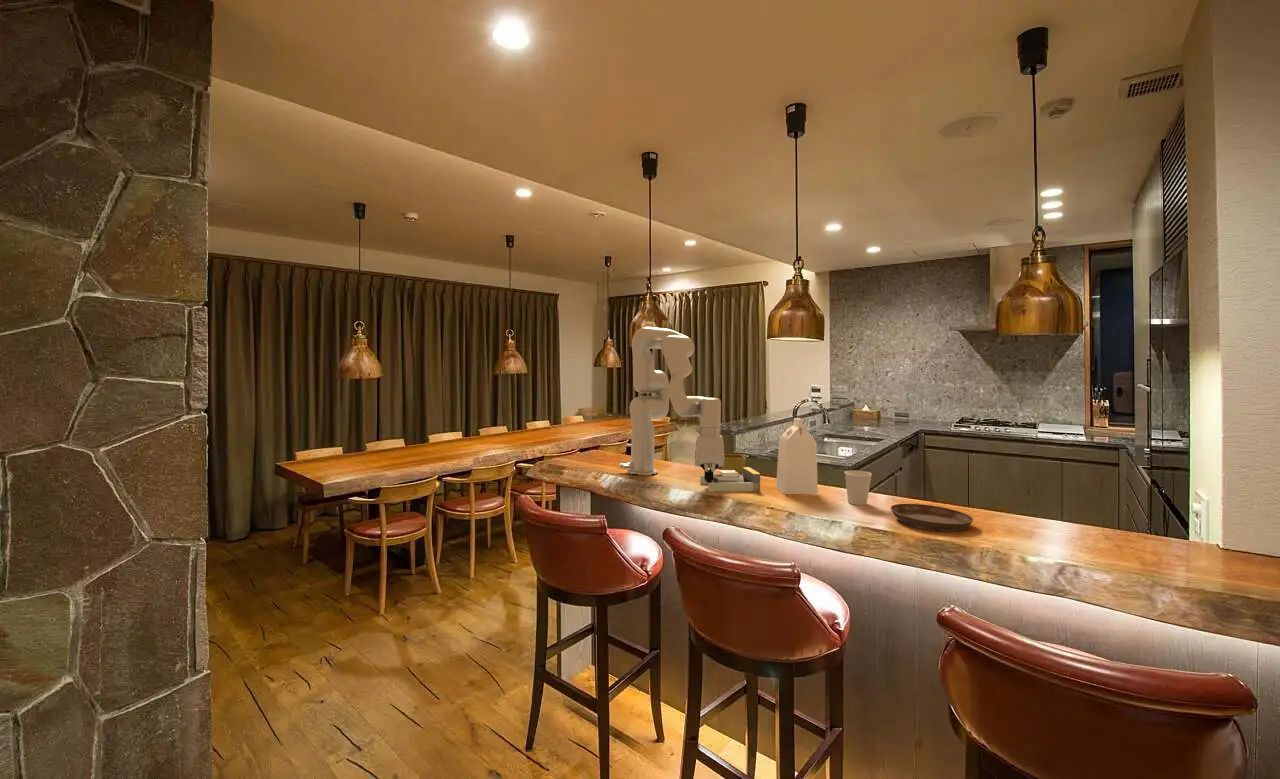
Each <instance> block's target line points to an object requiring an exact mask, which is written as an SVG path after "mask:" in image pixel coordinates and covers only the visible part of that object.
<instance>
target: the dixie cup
mask: <svg viewBox="0 0 1280 779" xmlns="http://www.w3.org/2000/svg"><path fill="white" fill-rule="evenodd" d="M844 475H845V484H846V497H847V503H848V504H850V503H851V505H853V504H856V505H855V506H866V504H868V499H869V491H870V487H871V482H872V481H871V480H872V476H873V474H872V472H869V471H864V470H845V471H844Z"/></svg>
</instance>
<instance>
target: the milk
mask: <svg viewBox="0 0 1280 779" xmlns="http://www.w3.org/2000/svg"><path fill="white" fill-rule="evenodd" d="M817 448H818V447H817V441H816V440H815V438H814V437H813V436H812V435H811V434H810V433H809V432H808V431H807V430H806V429H805V428H804V424H803V419H802V418H799V417H794V418H793V422H792V425H791V426H790V427H788V428H786V430H785V431H784V432H783V434H781V435H780V436H779V439H778V452H777V453H778V454H777V466H776V480H775V481H776V484H775V488H776V487H777V488H778V490H779V492H781V491H782V492H783V493H784V494H815V495H814V496H818V491H819V490H818V454H817V453H818V451H817V450H818V449H817ZM777 488H776V489H777ZM782 492H781V493H782ZM783 493H782V494H783ZM784 494H783V495H784Z"/></svg>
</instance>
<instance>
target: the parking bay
mask: <svg viewBox="0 0 1280 779" xmlns="http://www.w3.org/2000/svg"><path fill="white" fill-rule="evenodd" d="M742 477H743V478H744V482H717V483H714V482H713V481H712V483H710V482H709V483H707V482H706V480H705V479H704V475H700V477H699V483H700V484H702V485H708V490H707V491H708V493H714V492H715V491H717V492H761V473H760V472H758V471H756V470H755V469H753V468H752V467H749V466H747V467H746V466H745V467H743V474H742ZM715 493H716V492H715Z"/></svg>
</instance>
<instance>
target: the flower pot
mask: <svg viewBox="0 0 1280 779" xmlns="http://www.w3.org/2000/svg"><path fill="white" fill-rule="evenodd" d="M746 459H747V458H746V457H745V456H744V455H743V454H730V453H728V454H727V453H724V466H721V470H735V471H736V472H737V473H738V474H739V475H741V476H743V467H746V466H745V465H746Z"/></svg>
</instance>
